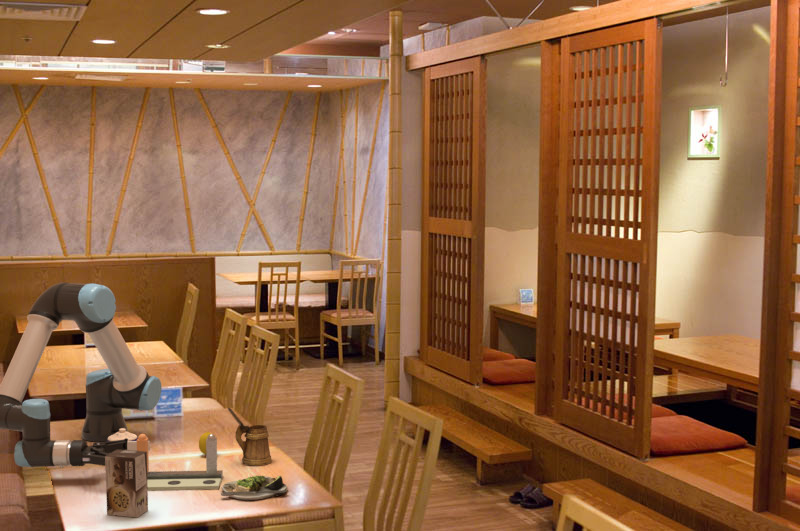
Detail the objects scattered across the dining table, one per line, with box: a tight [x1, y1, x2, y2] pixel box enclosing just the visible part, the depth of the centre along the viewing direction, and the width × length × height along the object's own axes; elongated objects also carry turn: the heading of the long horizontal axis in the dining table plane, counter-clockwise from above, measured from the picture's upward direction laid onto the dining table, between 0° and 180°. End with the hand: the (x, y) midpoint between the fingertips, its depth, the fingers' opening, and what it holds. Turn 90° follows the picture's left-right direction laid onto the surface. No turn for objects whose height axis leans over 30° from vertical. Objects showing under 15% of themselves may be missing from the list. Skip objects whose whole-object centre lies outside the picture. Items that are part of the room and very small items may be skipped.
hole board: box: [147, 478, 222, 492], centre depth 276 cm, size 7×25×1 cm, turn 95°
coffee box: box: [104, 450, 149, 518], centre depth 253 cm, size 9×6×16 cm
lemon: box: [198, 431, 213, 456], centre depth 307 cm, size 6×6×8 cm
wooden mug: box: [227, 407, 273, 467], centre depth 299 cm, size 9×14×18 cm, turn 106°
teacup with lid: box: [106, 428, 139, 454], centre depth 296 cm, size 12×9×12 cm
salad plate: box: [220, 474, 288, 501], centre depth 271 cm, size 19×18×5 cm
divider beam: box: [147, 433, 224, 481], centre depth 282 cm, size 3×27×14 cm, turn 95°
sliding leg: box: [137, 433, 150, 473], centre depth 281 cm, size 3×3×12 cm
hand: (145, 452), depth 281 cm, fingers open, 13 cm apart
